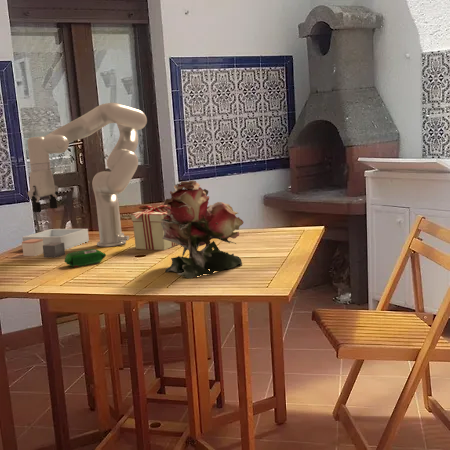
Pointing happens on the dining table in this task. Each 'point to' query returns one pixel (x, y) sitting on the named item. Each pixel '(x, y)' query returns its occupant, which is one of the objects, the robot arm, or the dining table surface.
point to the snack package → (84, 257)
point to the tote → (61, 237)
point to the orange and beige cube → (32, 247)
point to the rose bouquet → (199, 230)
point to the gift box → (150, 228)
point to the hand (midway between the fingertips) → (45, 210)
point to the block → (53, 250)
